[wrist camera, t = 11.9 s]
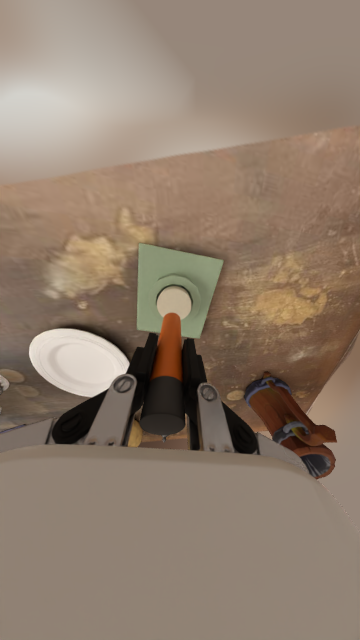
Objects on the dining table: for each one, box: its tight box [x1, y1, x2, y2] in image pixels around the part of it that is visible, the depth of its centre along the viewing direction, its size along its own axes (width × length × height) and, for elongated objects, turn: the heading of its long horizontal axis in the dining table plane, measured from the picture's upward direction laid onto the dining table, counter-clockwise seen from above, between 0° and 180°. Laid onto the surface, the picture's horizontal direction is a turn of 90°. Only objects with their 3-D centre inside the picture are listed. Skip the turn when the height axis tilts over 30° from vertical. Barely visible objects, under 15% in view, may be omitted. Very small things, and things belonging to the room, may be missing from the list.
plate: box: [29, 328, 130, 397], centre depth 28 cm, size 21×21×2 cm
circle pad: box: [157, 286, 192, 320], centre depth 19 cm, size 5×5×2 cm
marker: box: [139, 313, 185, 435], centre depth 11 cm, size 2×2×11 cm
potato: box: [128, 419, 143, 447], centre depth 39 cm, size 7×11×6 cm, turn 9°
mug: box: [244, 371, 337, 480], centre depth 27 cm, size 18×12×15 cm, turn 14°
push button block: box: [137, 243, 224, 338], centre depth 21 cm, size 14×12×3 cm
